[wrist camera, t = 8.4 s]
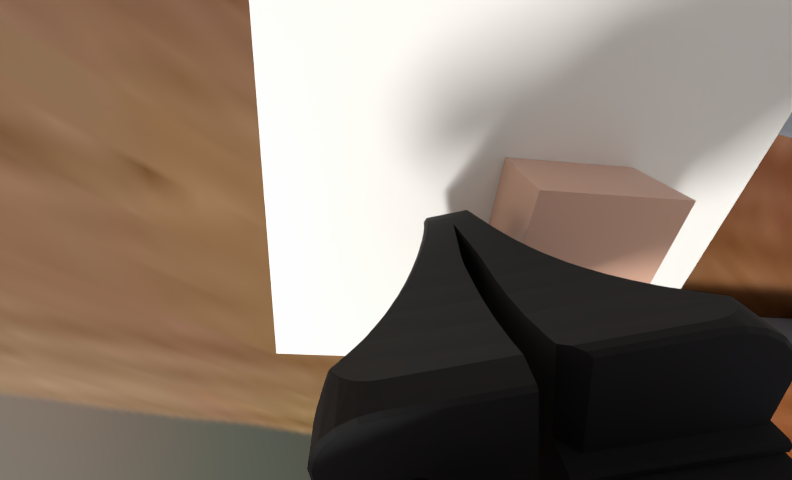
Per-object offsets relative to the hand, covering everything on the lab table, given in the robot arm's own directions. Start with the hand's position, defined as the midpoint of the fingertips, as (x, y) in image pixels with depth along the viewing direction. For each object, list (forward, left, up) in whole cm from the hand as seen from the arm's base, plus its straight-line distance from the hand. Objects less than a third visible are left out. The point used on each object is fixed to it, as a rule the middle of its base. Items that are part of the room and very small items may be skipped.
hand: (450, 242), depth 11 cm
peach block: (-3, 0, -1) cm, 3 cm away
